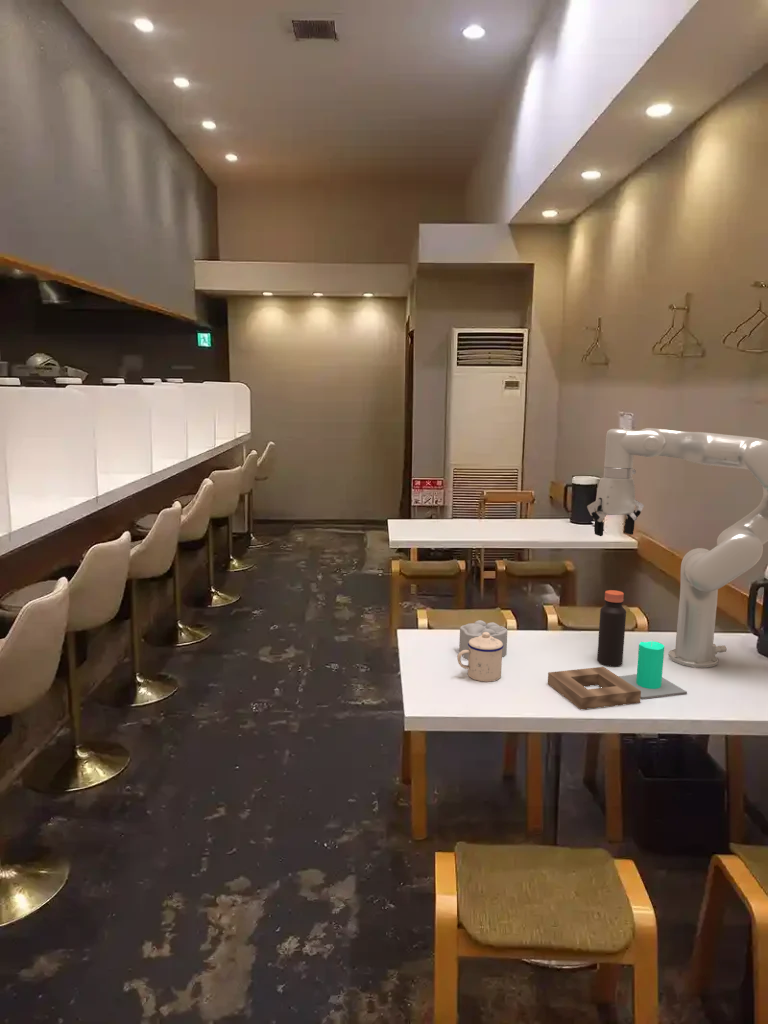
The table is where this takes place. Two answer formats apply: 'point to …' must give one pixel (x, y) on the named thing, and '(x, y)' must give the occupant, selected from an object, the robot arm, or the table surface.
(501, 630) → the lumpy-topped squat cylinder
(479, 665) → the teacup with lid
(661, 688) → the mat
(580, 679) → the stand
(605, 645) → the bottle
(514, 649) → the table surface
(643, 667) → the candle
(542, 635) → the table surface
